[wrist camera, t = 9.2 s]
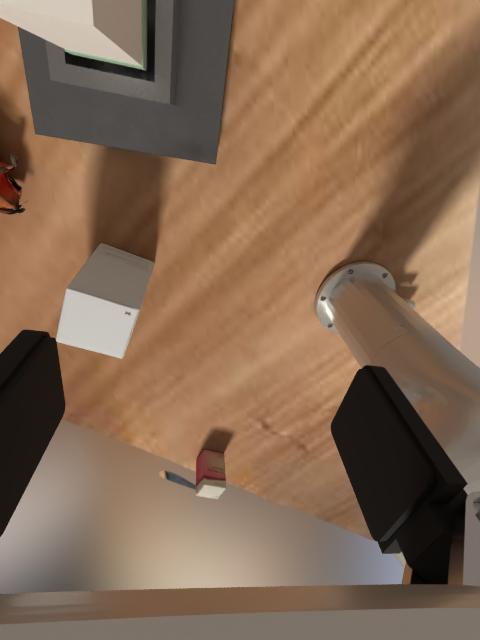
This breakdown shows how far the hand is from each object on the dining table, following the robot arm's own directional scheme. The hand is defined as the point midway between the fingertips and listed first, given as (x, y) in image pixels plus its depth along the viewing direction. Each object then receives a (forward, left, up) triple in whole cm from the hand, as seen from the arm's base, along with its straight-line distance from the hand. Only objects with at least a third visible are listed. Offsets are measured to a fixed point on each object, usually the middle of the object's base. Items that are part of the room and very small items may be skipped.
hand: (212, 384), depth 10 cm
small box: (-7, +55, -34) cm, 65 cm away
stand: (+8, -12, -34) cm, 37 cm away
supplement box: (+10, +13, -34) cm, 38 cm away
